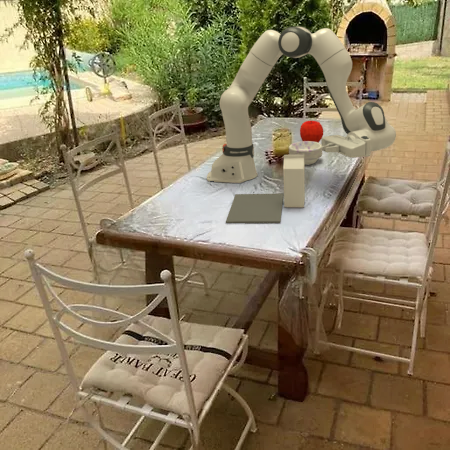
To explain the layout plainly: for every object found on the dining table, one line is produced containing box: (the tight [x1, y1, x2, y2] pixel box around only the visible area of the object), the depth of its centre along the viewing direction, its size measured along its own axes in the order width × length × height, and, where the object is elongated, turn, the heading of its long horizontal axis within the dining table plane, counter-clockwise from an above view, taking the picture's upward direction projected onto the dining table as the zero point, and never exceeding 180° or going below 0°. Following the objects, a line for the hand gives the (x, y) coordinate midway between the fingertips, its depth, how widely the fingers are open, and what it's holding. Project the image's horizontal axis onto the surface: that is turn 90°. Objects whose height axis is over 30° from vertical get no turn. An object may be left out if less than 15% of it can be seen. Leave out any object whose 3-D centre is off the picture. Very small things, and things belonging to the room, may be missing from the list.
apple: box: [299, 120, 324, 143], centre depth 243 cm, size 12×12×13 cm
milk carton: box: [282, 154, 306, 208], centre depth 175 cm, size 7×7×19 cm
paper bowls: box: [288, 141, 323, 166], centre depth 222 cm, size 15×15×8 cm
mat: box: [225, 192, 284, 224], centre depth 178 cm, size 19×26×1 cm
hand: (324, 149), depth 175 cm, fingers closed
